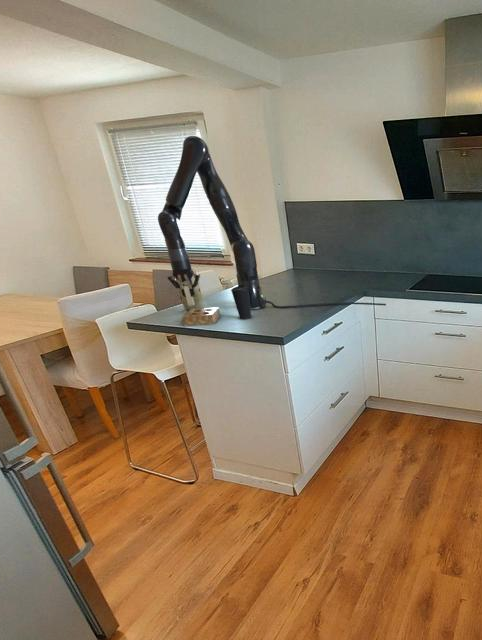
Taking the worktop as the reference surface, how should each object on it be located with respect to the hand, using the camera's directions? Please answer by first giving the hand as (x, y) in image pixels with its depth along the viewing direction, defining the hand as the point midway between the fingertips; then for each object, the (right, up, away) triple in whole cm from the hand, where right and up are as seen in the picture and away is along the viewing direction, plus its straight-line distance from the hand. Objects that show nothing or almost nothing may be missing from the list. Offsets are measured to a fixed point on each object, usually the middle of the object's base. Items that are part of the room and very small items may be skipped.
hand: (189, 296), depth 177 cm
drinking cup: (+27, -10, -1) cm, 29 cm away
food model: (-4, -5, +11) cm, 13 cm away
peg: (0, -4, +2) cm, 4 cm away
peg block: (+9, -12, -5) cm, 16 cm away
